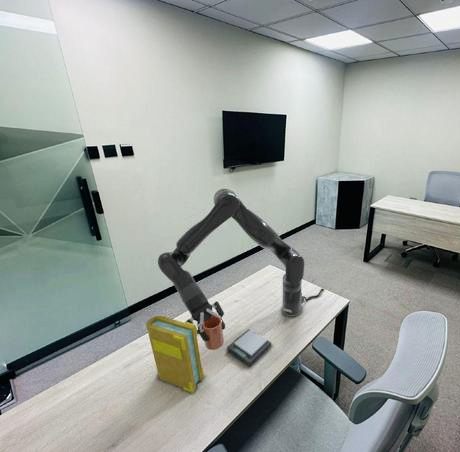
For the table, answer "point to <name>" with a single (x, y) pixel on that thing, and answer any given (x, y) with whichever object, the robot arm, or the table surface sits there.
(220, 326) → the cup
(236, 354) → the scale
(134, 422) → the table surface
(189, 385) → the book
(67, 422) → the table surface
